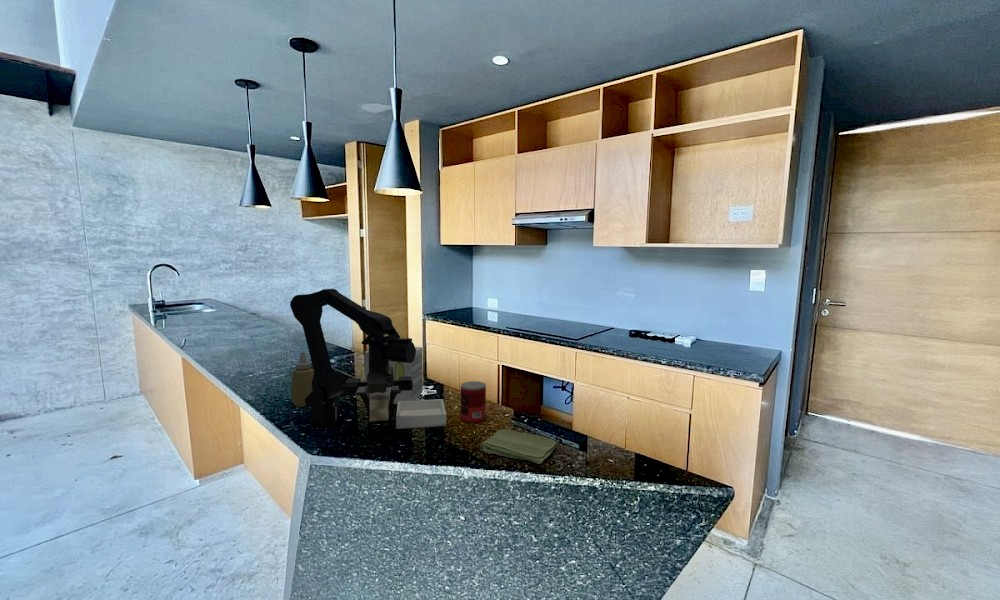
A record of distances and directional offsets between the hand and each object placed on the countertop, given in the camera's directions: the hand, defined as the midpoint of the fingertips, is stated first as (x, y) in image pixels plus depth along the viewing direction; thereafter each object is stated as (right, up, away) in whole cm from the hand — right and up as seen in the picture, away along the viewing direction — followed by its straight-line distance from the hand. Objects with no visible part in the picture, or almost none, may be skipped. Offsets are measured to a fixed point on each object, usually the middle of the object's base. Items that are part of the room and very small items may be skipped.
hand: (379, 413), depth 118 cm
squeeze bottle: (-32, -3, +22) cm, 39 cm away
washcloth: (+40, -7, -11) cm, 42 cm away
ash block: (0, -1, 0) cm, 1 cm away
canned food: (+26, -5, +11) cm, 29 cm away
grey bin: (+10, -4, +11) cm, 15 cm away
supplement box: (-3, -3, +30) cm, 31 cm away
